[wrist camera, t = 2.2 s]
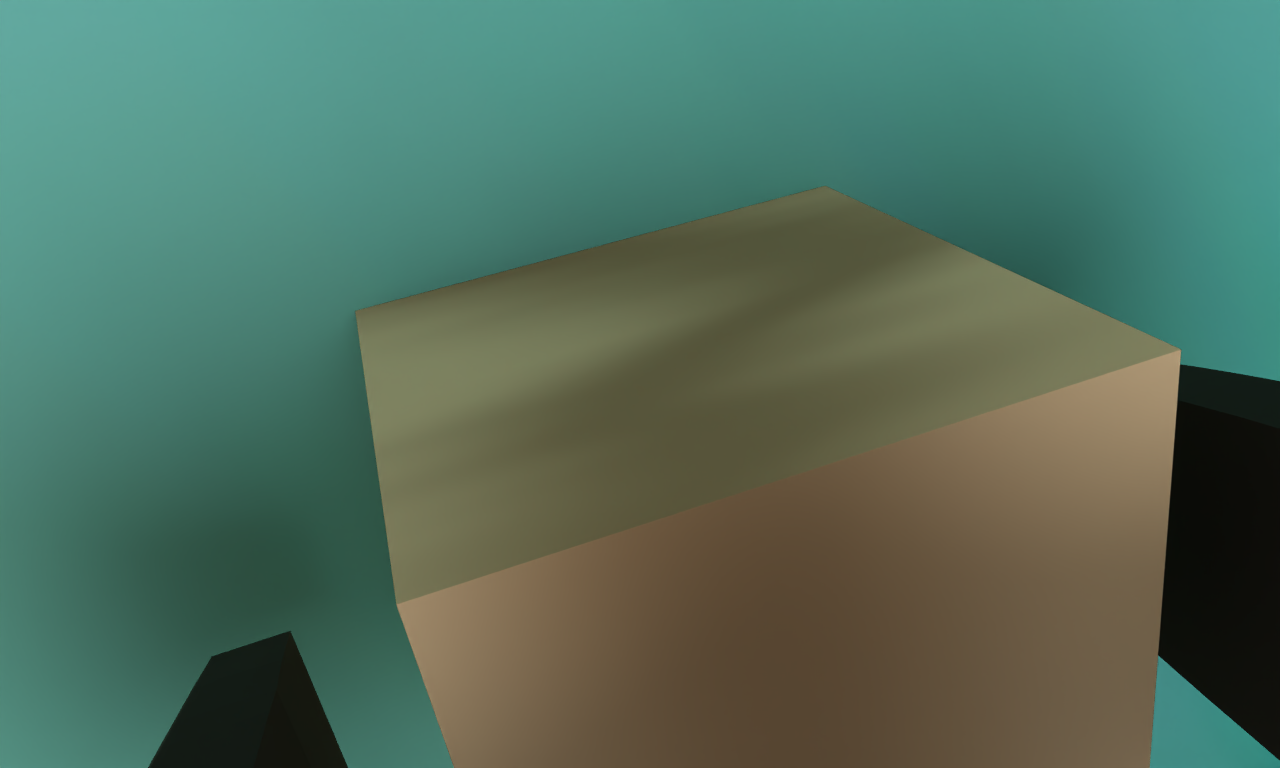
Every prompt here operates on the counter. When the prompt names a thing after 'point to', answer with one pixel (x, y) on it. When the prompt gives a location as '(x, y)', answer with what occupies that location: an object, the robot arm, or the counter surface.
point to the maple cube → (775, 503)
